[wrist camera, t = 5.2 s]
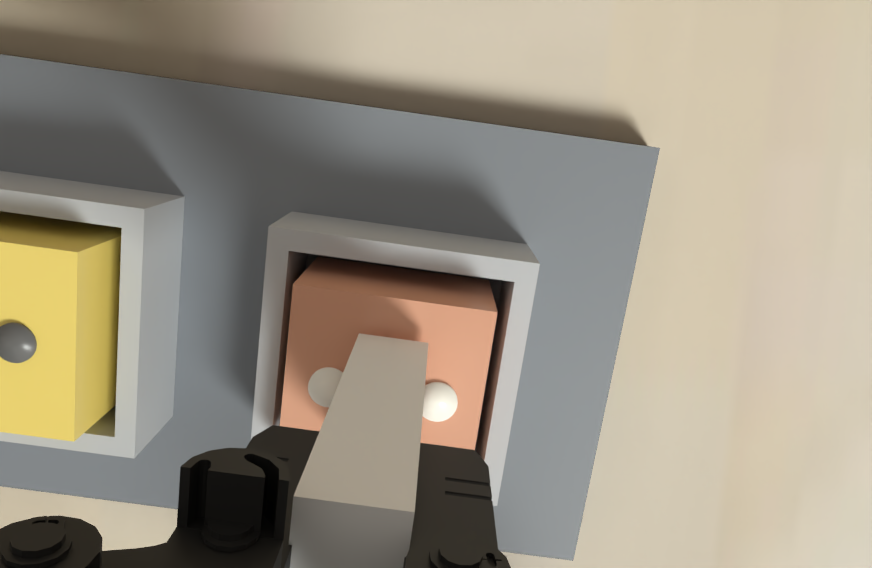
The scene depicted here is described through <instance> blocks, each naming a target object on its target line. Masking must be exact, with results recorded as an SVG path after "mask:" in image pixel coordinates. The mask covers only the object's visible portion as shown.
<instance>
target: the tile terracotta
mask: <svg viewBox="0 0 872 568" xmlns="http://www.w3.org/2000/svg"><path fill="white" fill-rule="evenodd" d="M497 313H498V312H497V308H496V304H495V301H494V297H493V293H492V289H491V286H490V282H489V280H485V279H478V278H470V277H463V276H456V275H449V274H441V273H434V272H427V271H420V270H412V269H405V268H398V267H391V266H383V265H376V264H369V263H362V262H354V261H347V260H340V259H333V258H325V257H317V258H316V259H315V260H314V261H313V262H312V263H311V265H310V266H309V267H308V268H307V269H306V270H305V271H304V272H303V273H302V275H301V276H300V277H299V278H298V279H297V280H296V281H295V282H294V283H293V288H292V299H291V310H290V321H289V331H288V342H287V353H286V364H285V375H284V385H283V396H282V407H281V418H280V426H283V427H291V428H298V429H306V430H313V431H320V429H321V427H322V424H323V422H324V419H325V417H326V414H327V412H328V409H329V407H330V404H331V402H332V399H333V397H334V394H335V392H336V389H337V387H338V384H339V382H340V379H341V377H342V374H343V372H344V369H345V367H346V364H347V362H348V359H349V357H350V354H351V352H352V349H353V347H354V344H355V342H356V339H357V337H358V334H359V333H360V334H368V335H375V336H382V337H390V338H397V339H404V340H412V341H419V342H426V343H428V355H427V367H426V380H425V392H424V404H423V417H422V429H421V441H420V443H427V444H434V445H442V446H449V447H457V448H464V449H471V450H475V446H476V440H477V434H478V428H479V422H480V416H481V409H482V403H483V397H484V391H485V385H486V379H487V373H488V367H489V361H490V355H491V349H492V343H493V337H494V331H495V325H496V319H497Z"/></svg>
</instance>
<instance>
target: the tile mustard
mask: <svg viewBox="0 0 872 568" xmlns="http://www.w3.org/2000/svg"><path fill="white" fill-rule="evenodd" d="M121 231H122V228H119V227H112V226H105V225H98V224H90V223H83V222H76V221H69V220H61V219H54V218H47V217H40V216H32V215H25V214H18V213H11V212H3V211H0V432H5V433H12V434H20V435H27V436H35V437H43V438H50V439H58V440H65V441H73V442H74V441H75V440H77V439H78V438H79V437H80V436H81V435H82V434H83V433H85V432H86V431H87V430H88V429H89V428H90V427H91V426H92V425H94V424H95V423H96V422H97V421H98V420H99V419H100V418H102V417H103V416H104V415H105V414H106V413H107V412H108V411H110V410H111V409H112V408H113V407H114V406H115V405H116V383H117V353H118V322H119V292H120V262H121Z"/></svg>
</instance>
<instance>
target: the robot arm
mask: <svg viewBox="0 0 872 568" xmlns="http://www.w3.org/2000/svg"><path fill="white" fill-rule="evenodd" d="M427 355H428V343H426V342H419V341H412V340H404V339H397V338H390V337H382V336H375V335H368V334H360V333H359V334H358V337H357V339H356V342H355V344H354V347H353V349H352V352H351V354H350V357H349V359H348V362H347V364H346V367H345V369H344V372H343V374H342V377H341V379H340V382H339V384H338V387H337V389H336V392H335V394H334V397H333V399H332V402H331V404H330V407H329V409H328V412H327V414H326V417H325V419H324V422H323V424H322V427H321V429H320V431H313V430H306V429H298V428H291V427H283V426H276V425H272V426H270V427H269V428H267V429H265V430H264V431H262V432H260V433H259V434H257V435H255V436H253V437H252V439H251V441H250V442H249V444H248V446H247V447H246V448H224V449H217V450H210V451H207V452H204V453H202V454H199V455H196V456H194V457H192V458H190V459H189V460H188V461H187V462H185V463H184V464H183V465H182V466H181V467H180V482H179V500H178V518H177V528H176V529H175V531H174V532H173V534H172V535H171V537H170V538H169V540H168V541H167V543H163V544H160V545H156V546H151V547H144V548H136V549H123V550H110V551H102V537H101V535H100V533H99V532H98V530H97V529H96V527H95V526H93V525H91V524H89V523H87V522H85V521H83V520H81V519H77V518H71V517H64V516H49V517H47V516H42V517H35V518H31V519H27V520H23V521H19V522H15V523H12V524H9V525H7V526H5V527H3V528H1V529H0V568H511V567H510V565H509V563H508V560H507V558H506V556H504V555H503V554H502V553H501V552H500V551H499V550H498V544H497V536H496V527H495V518H494V510H493V501H492V493H491V486H490V476H489V467H488V465H487V464H486V463H485V461H484V460H483V459H482V458H481V457H480V456H479V454H478V453H477V452H476V451H475V450H471V449H464V448H457V447H449V446H442V445H434V444H427V443H420V441H421V429H422V417H423V404H424V392H425V380H426V367H427Z"/></svg>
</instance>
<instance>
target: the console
mask: <svg viewBox="0 0 872 568" xmlns="http://www.w3.org/2000/svg"><path fill="white" fill-rule="evenodd" d="M659 149H660V148H656V147H650V146H643V145H636V144H629V143H622V142H615V141H608V140H601V139H594V138H586V137H579V136H572V135H565V134H558V133H551V132H544V131H537V130H530V129H523V128H516V127H509V126H502V125H495V124H488V123H481V122H474V121H467V120H460V119H453V118H446V117H439V116H432V115H425V114H418V113H411V112H404V111H397V110H390V109H383V108H376V107H369V106H362V105H355V104H348V103H341V102H334V101H326V100H319V99H312V98H305V97H298V96H291V95H284V94H277V93H270V92H263V91H256V90H249V89H242V88H235V87H228V86H221V85H214V84H207V83H200V82H193V81H186V80H179V79H172V78H165V77H158V76H151V75H144V74H137V73H130V72H123V71H116V70H109V69H102V68H95V67H88V66H81V65H74V64H66V63H59V62H52V61H45V60H38V59H31V58H24V57H17V56H10V55H3V54H0V211H3V212H11V213H18V214H25V215H32V216H40V217H47V218H54V219H61V220H69V221H76V222H83V223H90V224H98V225H105V226H112V227H119V228H122V231H121V262H120V292H119V322H118V353H117V383H116V405H115V406H114V407H113V408H112V409H111V410H110V411H108V412H107V413H106V414H105V415H104V416H103V417H102V418H100V419H99V420H98V421H97V422H96V423H95V424H94V425H92V426H91V427H90V428H89V429H88V430H87V431H86V432H85V433H83V434H82V435H81V436H80V437H79V438H78V439H77V440H75V441H74V442H73V441H65V440H58V439H50V438H43V437H35V436H27V435H20V434H12V433H5V432H0V486H3V487H11V488H18V489H26V490H34V491H41V492H49V493H57V494H64V495H72V496H80V497H87V498H95V499H103V500H111V501H118V502H126V503H134V504H141V505H149V506H157V507H164V508H172V509H178V500H179V482H180V467H181V466H182V465H183V464H184V463H185V462H187V461H188V460H189V459H190V458H192V457H194V456H196V455H199V454H202V453H204V452H207V451H210V450H217V449H224V448H246V447H247V446H248V444H249V442H250V441H251V439H252V437H253V436H255V435H257V434H259V433H260V432H262V431H264V430H265V429H267V428H269V427H270V426H272V425H276V426H280V418H281V407H282V396H283V385H284V375H285V364H286V353H287V342H288V331H289V321H290V310H291V299H292V288H293V283H294V282H295V281H296V280H297V279H298V278H299V277H300V276H301V275H302V273H303V272H304V271H305V270H306V269H307V268H308V267H309V266H310V265H311V263H312V262H313V261H314V260H315V259H316V258H317V257H325V258H333V259H340V260H347V261H354V262H362V263H369V264H376V265H383V266H391V267H398V268H405V269H412V270H420V271H427V272H434V273H441V274H449V275H456V276H463V277H470V278H478V279H485V280H489V282H490V286H491V289H492V293H493V297H494V301H495V304H496V308H497V312H498V313H497V319H496V325H495V331H494V337H493V343H492V349H491V355H490V361H489V367H488V373H487V379H486V385H485V391H484V397H483V403H482V409H481V416H480V422H479V428H478V434H477V440H476V446H475V451H476V452H477V453H478V454H479V456H480V457H481V458H482V459H483V460H484V461H485V463H486V464H487V465H488V467H489V476H490V486H491V493H492V501H493V510H494V518H495V527H496V536H497V544H498V550H499V551H503V552H510V553H518V554H526V555H533V556H541V557H549V558H556V559H564V560H572V561H573V559H574V554H575V550H576V545H577V540H578V535H579V530H580V526H581V521H582V516H583V511H584V507H585V502H586V497H587V492H588V488H589V483H590V478H591V473H592V469H593V464H594V459H595V454H596V450H597V445H598V440H599V435H600V430H601V426H602V421H603V416H604V411H605V407H606V402H607V397H608V392H609V388H610V383H611V378H612V373H613V369H614V364H615V359H616V354H617V349H618V345H619V340H620V335H621V330H622V326H623V321H624V316H625V311H626V307H627V302H628V297H629V292H630V288H631V283H632V278H633V273H634V269H635V264H636V259H637V254H638V249H639V245H640V240H641V235H642V230H643V226H644V221H645V216H646V211H647V207H648V202H649V197H650V192H651V188H652V183H653V178H654V173H655V168H656V164H657V159H658V154H659Z"/></svg>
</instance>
